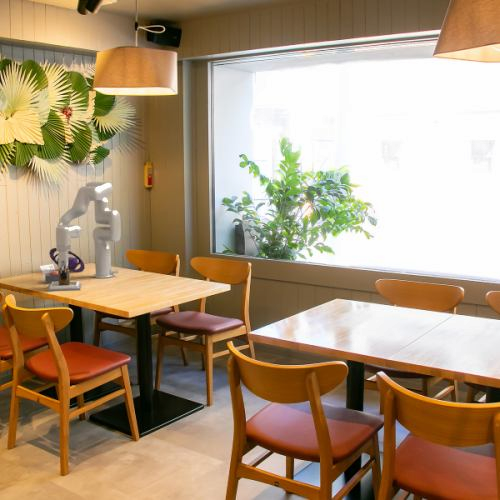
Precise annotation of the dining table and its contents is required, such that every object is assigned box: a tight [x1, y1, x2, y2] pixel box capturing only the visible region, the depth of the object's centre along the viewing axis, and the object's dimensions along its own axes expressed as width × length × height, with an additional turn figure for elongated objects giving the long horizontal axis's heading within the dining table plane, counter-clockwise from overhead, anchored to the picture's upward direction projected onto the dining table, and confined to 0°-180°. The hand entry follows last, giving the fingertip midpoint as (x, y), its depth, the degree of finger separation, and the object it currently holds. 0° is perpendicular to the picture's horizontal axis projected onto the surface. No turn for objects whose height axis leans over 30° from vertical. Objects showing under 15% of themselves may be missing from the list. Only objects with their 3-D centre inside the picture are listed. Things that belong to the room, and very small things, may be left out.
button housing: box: [44, 272, 59, 285], centre depth 371 cm, size 10×10×5 cm
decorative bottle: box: [48, 245, 85, 273], centre depth 407 cm, size 22×21×25 cm
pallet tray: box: [46, 280, 83, 292], centre depth 355 cm, size 18×16×2 cm
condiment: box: [57, 266, 71, 286], centre depth 353 cm, size 7×8×12 cm
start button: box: [49, 270, 59, 275], centre depth 371 cm, size 5×5×3 cm
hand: (64, 277), depth 354 cm, fingers open, 9 cm apart
